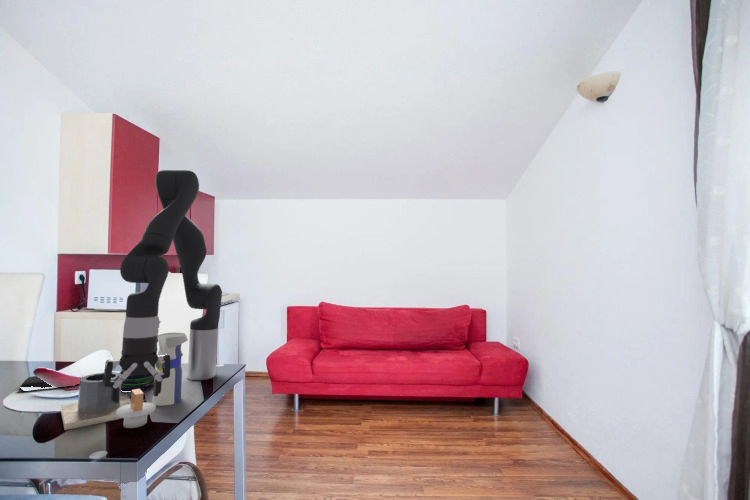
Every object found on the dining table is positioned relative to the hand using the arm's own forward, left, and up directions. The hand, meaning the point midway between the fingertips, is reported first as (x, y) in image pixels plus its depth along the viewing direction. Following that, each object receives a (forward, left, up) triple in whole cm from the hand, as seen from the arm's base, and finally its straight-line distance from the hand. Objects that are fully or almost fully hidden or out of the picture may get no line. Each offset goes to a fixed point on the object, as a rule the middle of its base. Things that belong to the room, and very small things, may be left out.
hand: (136, 399), depth 95 cm
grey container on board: (-13, -6, -6) cm, 16 cm away
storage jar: (-30, +6, -6) cm, 31 cm away
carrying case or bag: (-49, -14, -7) cm, 51 cm away
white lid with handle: (0, 0, -6) cm, 6 cm away
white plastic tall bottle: (-12, +11, -6) cm, 17 cm away
